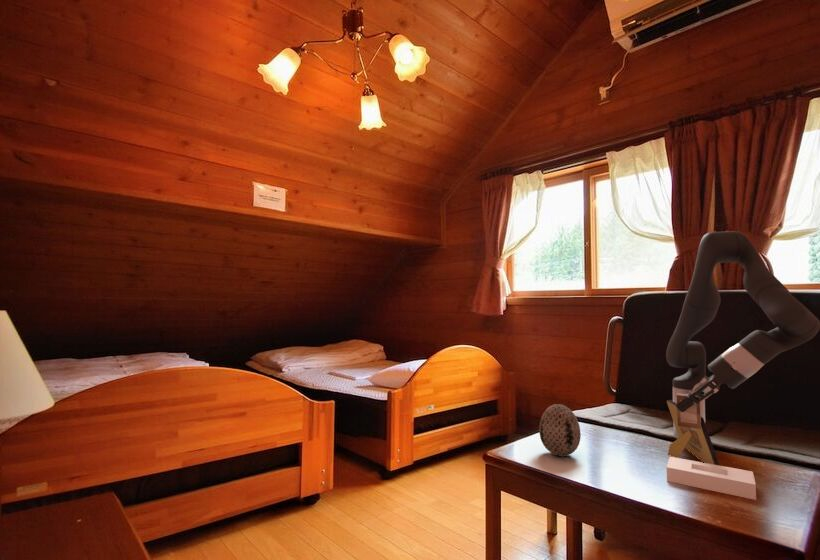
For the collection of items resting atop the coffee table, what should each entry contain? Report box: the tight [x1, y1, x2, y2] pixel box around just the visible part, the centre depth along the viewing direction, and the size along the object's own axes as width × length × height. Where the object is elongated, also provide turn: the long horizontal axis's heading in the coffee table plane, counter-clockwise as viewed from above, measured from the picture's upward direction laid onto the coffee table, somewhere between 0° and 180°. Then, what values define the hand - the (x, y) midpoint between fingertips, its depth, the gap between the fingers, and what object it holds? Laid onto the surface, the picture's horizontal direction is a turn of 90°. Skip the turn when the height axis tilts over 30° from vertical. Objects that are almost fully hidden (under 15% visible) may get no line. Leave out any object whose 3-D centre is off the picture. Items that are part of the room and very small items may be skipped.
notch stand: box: [666, 456, 757, 501], centre depth 110 cm, size 10×18×4 cm, turn 55°
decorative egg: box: [538, 403, 582, 457], centre depth 130 cm, size 12×12×15 cm
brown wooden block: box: [677, 393, 701, 429], centre depth 114 cm, size 3×5×8 cm, turn 55°
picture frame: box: [666, 399, 721, 466], centre depth 130 cm, size 23×9×15 cm, turn 168°
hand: (679, 407), depth 115 cm, fingers closed on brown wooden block, 3 cm apart
